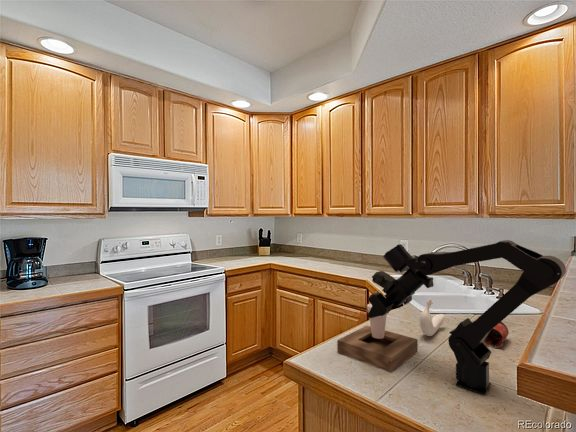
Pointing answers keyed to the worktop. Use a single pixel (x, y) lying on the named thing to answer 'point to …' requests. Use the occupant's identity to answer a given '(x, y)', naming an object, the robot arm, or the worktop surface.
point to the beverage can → (497, 335)
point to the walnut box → (378, 348)
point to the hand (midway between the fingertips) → (373, 314)
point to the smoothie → (377, 324)
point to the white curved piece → (430, 320)
